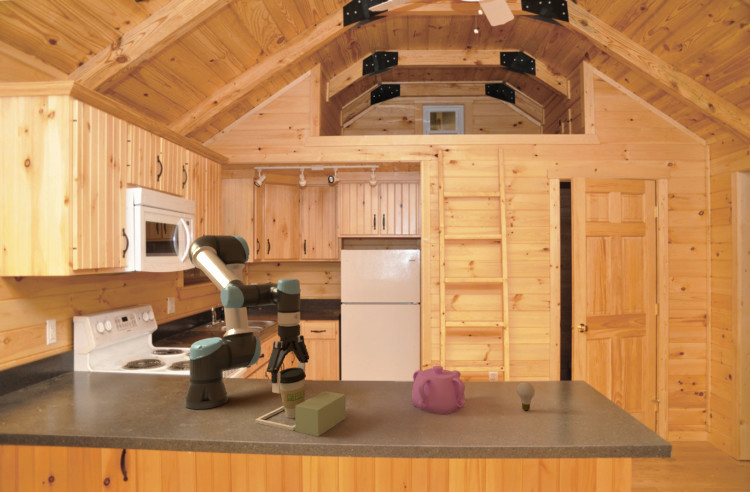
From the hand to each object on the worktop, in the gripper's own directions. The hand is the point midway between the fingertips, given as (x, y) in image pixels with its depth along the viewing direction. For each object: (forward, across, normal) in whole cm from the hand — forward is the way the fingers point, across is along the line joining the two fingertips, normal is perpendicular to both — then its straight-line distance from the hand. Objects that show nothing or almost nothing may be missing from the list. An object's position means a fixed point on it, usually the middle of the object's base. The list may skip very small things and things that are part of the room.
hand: (289, 386), depth 151 cm
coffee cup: (+10, +3, 0) cm, 11 cm away
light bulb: (+11, +42, -71) cm, 83 cm away
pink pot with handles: (+11, +35, -42) cm, 56 cm away
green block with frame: (+11, 0, -5) cm, 12 cm away
